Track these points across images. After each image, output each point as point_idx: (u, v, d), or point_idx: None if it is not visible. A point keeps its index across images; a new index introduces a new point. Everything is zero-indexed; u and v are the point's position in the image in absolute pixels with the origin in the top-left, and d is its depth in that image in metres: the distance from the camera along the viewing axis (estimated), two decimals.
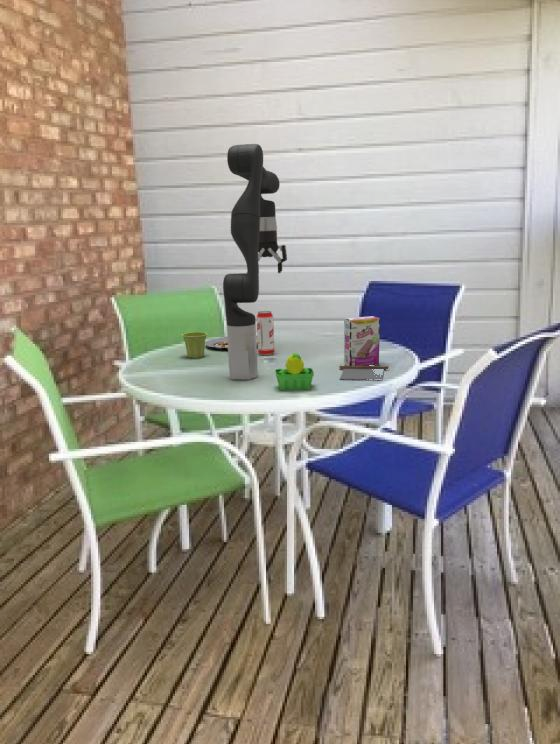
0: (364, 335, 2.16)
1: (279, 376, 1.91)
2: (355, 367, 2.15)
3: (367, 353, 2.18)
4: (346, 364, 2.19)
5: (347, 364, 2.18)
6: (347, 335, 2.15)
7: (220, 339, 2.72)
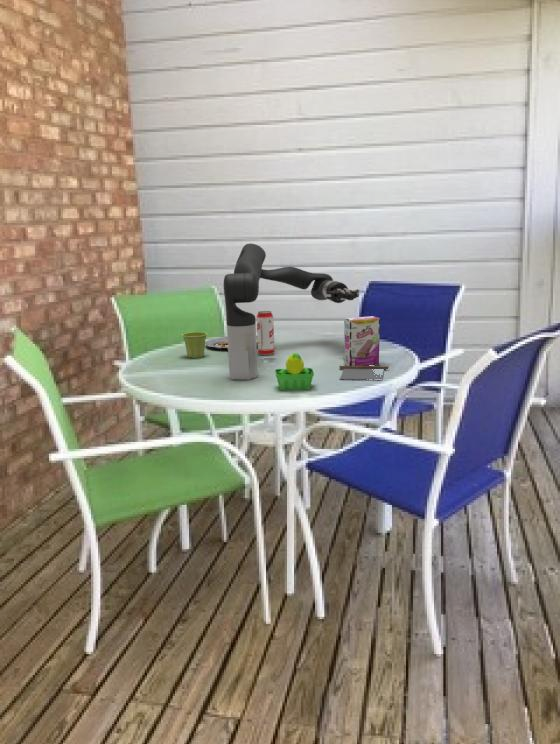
0: (364, 335, 2.16)
1: (279, 376, 1.91)
2: (355, 367, 2.15)
3: (367, 353, 2.18)
4: (346, 364, 2.19)
5: (347, 364, 2.18)
6: (347, 335, 2.15)
7: (220, 339, 2.72)
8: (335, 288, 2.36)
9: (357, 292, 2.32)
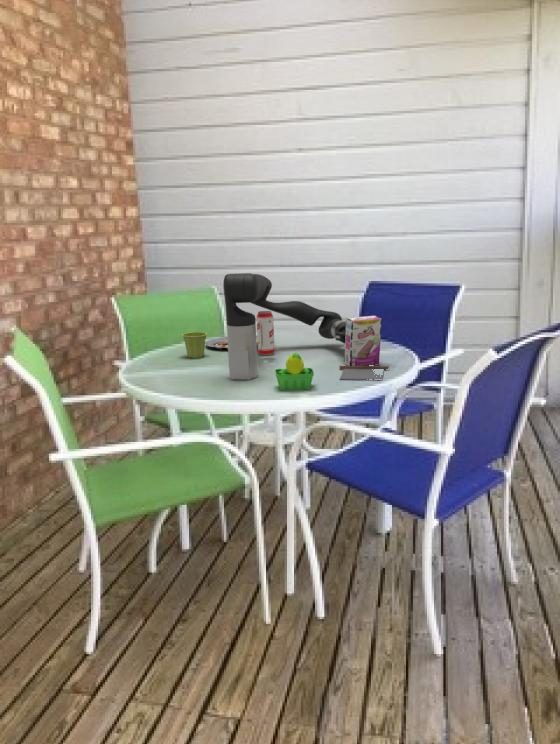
0: (365, 336, 2.15)
1: (279, 376, 1.91)
2: (355, 367, 2.15)
3: (368, 353, 2.17)
4: (346, 363, 2.19)
5: (347, 364, 2.18)
6: (349, 335, 2.15)
7: (220, 339, 2.72)
8: (344, 329, 2.32)
9: None
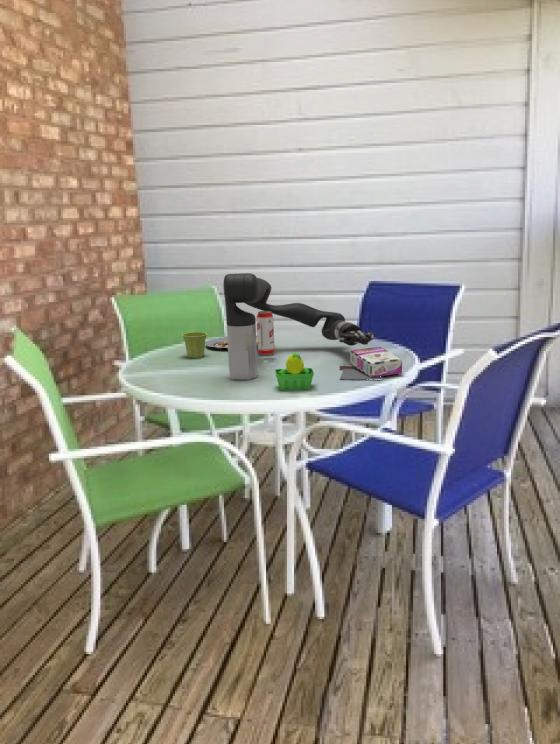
0: None
1: (279, 376, 1.91)
2: (355, 367, 2.15)
3: None
4: (350, 356, 2.15)
5: (351, 359, 2.15)
6: (363, 368, 2.06)
7: (220, 339, 2.72)
8: (348, 330, 2.26)
9: (371, 335, 2.23)
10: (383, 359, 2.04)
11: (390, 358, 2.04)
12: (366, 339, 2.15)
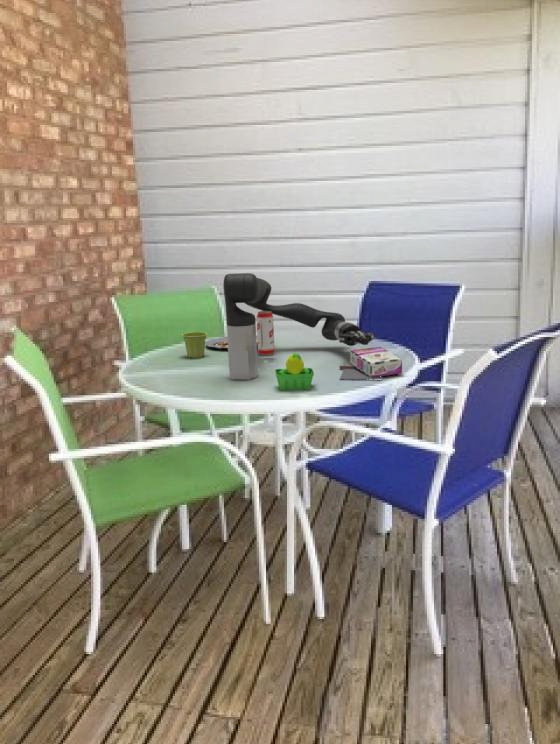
0: None
1: (279, 376, 1.91)
2: (355, 367, 2.15)
3: None
4: (350, 356, 2.15)
5: (351, 359, 2.15)
6: (363, 368, 2.06)
7: (220, 339, 2.72)
8: (348, 331, 2.27)
9: (371, 335, 2.23)
10: (383, 359, 2.04)
11: (390, 358, 2.04)
12: (366, 339, 2.15)
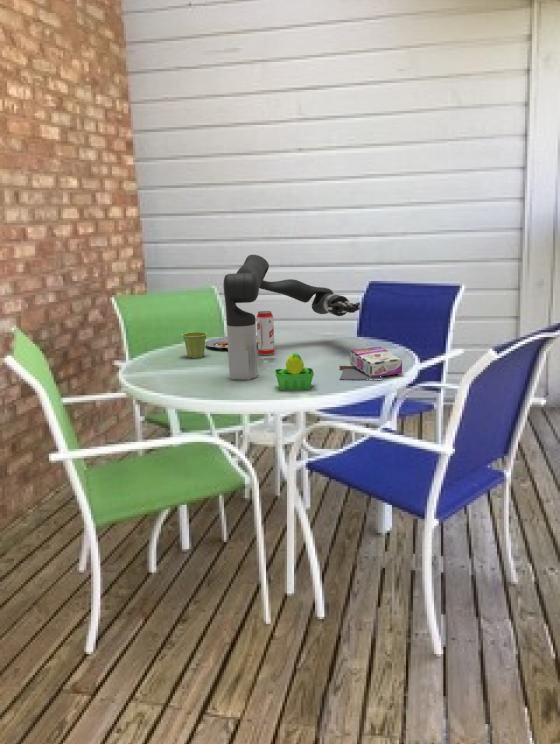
0: None
1: (279, 376, 1.91)
2: (355, 367, 2.15)
3: None
4: (350, 356, 2.15)
5: (351, 359, 2.15)
6: (363, 368, 2.06)
7: (220, 339, 2.72)
8: (336, 301, 2.38)
9: (358, 305, 2.34)
10: (383, 359, 2.04)
11: (390, 358, 2.04)
12: (353, 307, 2.26)
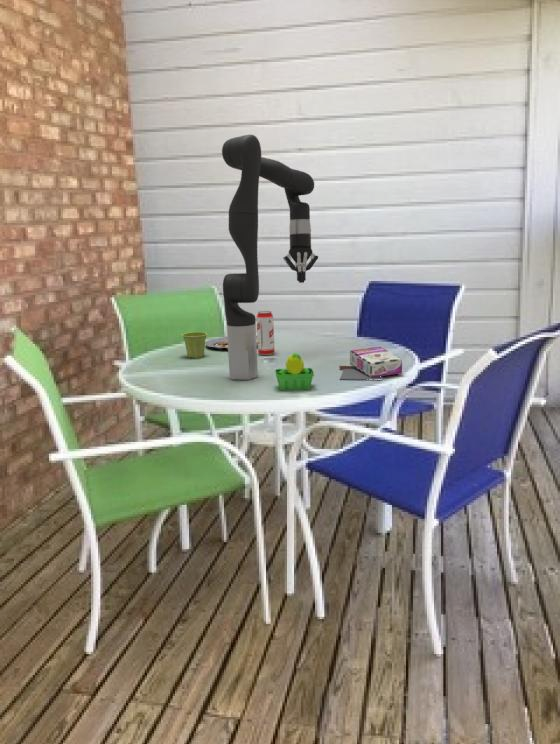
0: None
1: (279, 376, 1.91)
2: (355, 367, 2.15)
3: None
4: (350, 356, 2.15)
5: (351, 359, 2.15)
6: (363, 368, 2.06)
7: (220, 339, 2.72)
8: (297, 246, 2.29)
9: None
10: (383, 359, 2.04)
11: (390, 358, 2.04)
12: (302, 282, 2.32)
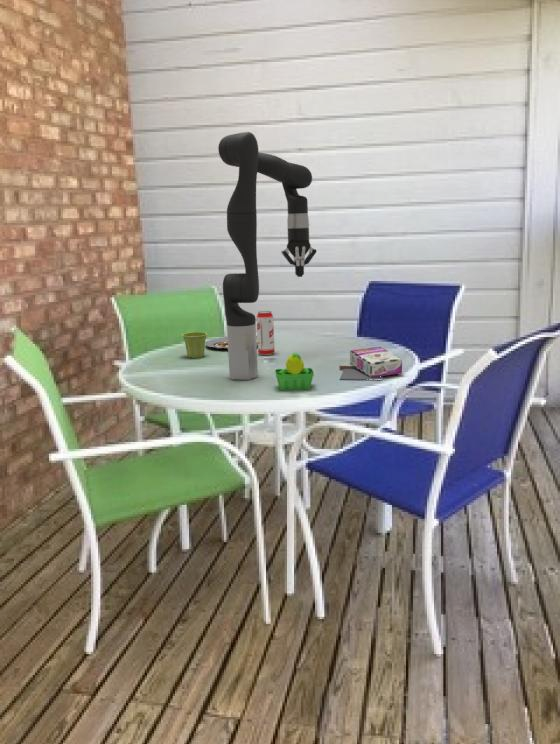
0: None
1: (279, 376, 1.91)
2: (355, 367, 2.15)
3: None
4: (350, 356, 2.15)
5: (351, 359, 2.15)
6: (363, 368, 2.06)
7: (220, 339, 2.72)
8: (295, 241, 2.28)
9: None
10: (383, 359, 2.04)
11: (390, 358, 2.04)
12: (301, 276, 2.32)
